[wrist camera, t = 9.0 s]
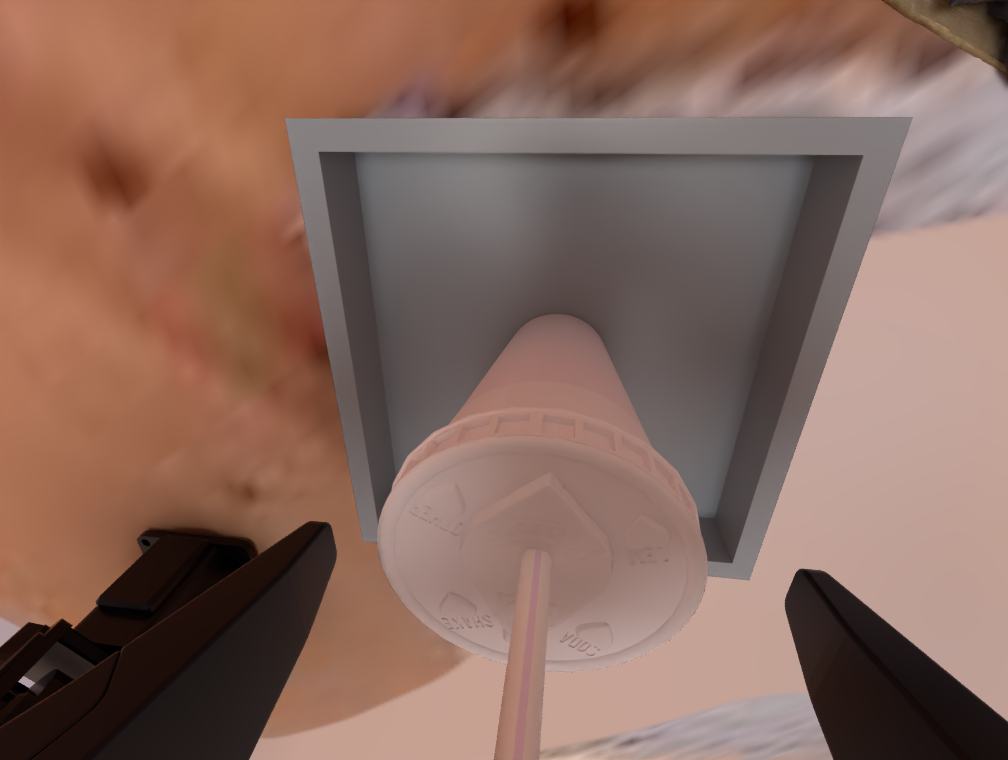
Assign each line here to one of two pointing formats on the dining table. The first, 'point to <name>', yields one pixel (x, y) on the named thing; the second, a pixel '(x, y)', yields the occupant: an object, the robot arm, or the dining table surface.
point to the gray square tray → (594, 278)
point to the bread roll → (964, 25)
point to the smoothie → (544, 525)
